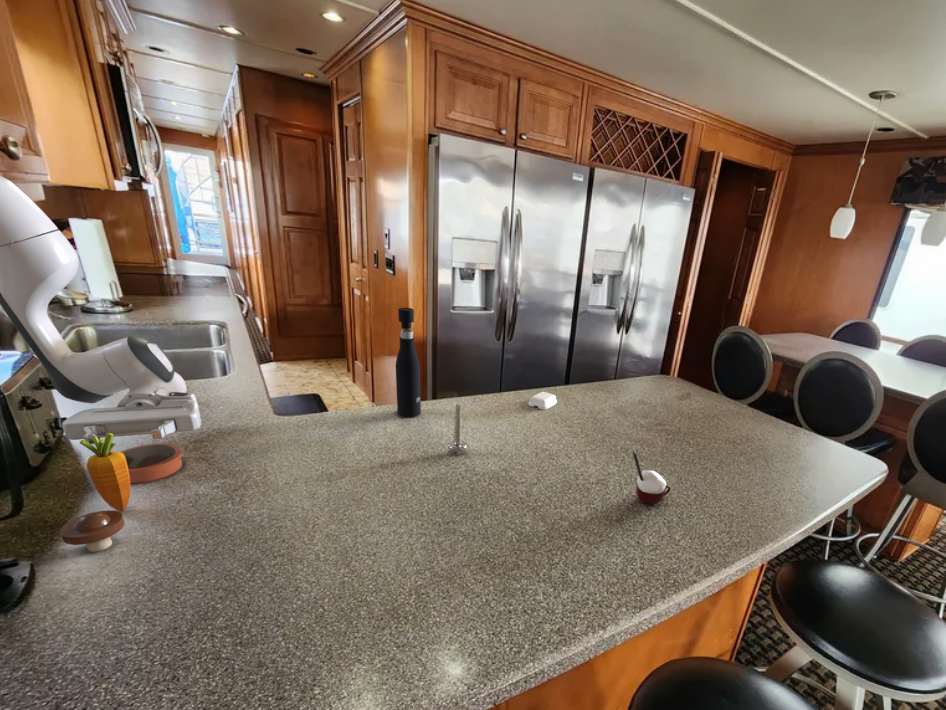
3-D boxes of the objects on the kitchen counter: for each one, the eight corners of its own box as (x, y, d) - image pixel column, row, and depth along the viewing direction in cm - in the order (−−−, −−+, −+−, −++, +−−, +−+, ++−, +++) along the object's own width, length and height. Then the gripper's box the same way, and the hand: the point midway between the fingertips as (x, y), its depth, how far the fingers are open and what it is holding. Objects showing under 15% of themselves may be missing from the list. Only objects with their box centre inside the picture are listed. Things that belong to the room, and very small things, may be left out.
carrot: (96, 520, 78) (69, 442, 73) (113, 504, 83) (88, 429, 77) (131, 518, 80) (107, 441, 74) (146, 502, 84) (124, 428, 78)
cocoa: (667, 496, 103) (678, 449, 99) (667, 512, 98) (678, 462, 93) (626, 488, 105) (634, 441, 100) (623, 502, 99) (632, 453, 95)
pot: (92, 476, 90) (88, 462, 88) (155, 451, 100) (152, 438, 99) (139, 489, 87) (135, 475, 86) (199, 462, 98) (196, 449, 97)
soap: (540, 397, 155) (541, 389, 154) (558, 402, 152) (559, 394, 151) (526, 404, 147) (527, 396, 146) (545, 410, 145) (545, 401, 143)
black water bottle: (397, 409, 134) (393, 306, 123) (420, 408, 136) (418, 307, 125) (397, 418, 129) (392, 310, 117) (421, 417, 130) (418, 311, 119)
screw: (462, 458, 111) (444, 454, 112) (470, 450, 115) (452, 446, 116) (463, 408, 106) (444, 405, 107) (471, 402, 110) (453, 398, 111)
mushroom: (56, 554, 71) (43, 522, 68) (108, 528, 77) (98, 498, 75) (91, 565, 69) (79, 533, 67) (140, 538, 75) (131, 507, 73)
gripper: (75, 399, 90) (40, 427, 79) (203, 392, 99) (188, 417, 88) (85, 428, 93) (52, 459, 81) (208, 419, 101) (194, 446, 90)
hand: (124, 437), depth 85 cm, fingers open, 8 cm apart
